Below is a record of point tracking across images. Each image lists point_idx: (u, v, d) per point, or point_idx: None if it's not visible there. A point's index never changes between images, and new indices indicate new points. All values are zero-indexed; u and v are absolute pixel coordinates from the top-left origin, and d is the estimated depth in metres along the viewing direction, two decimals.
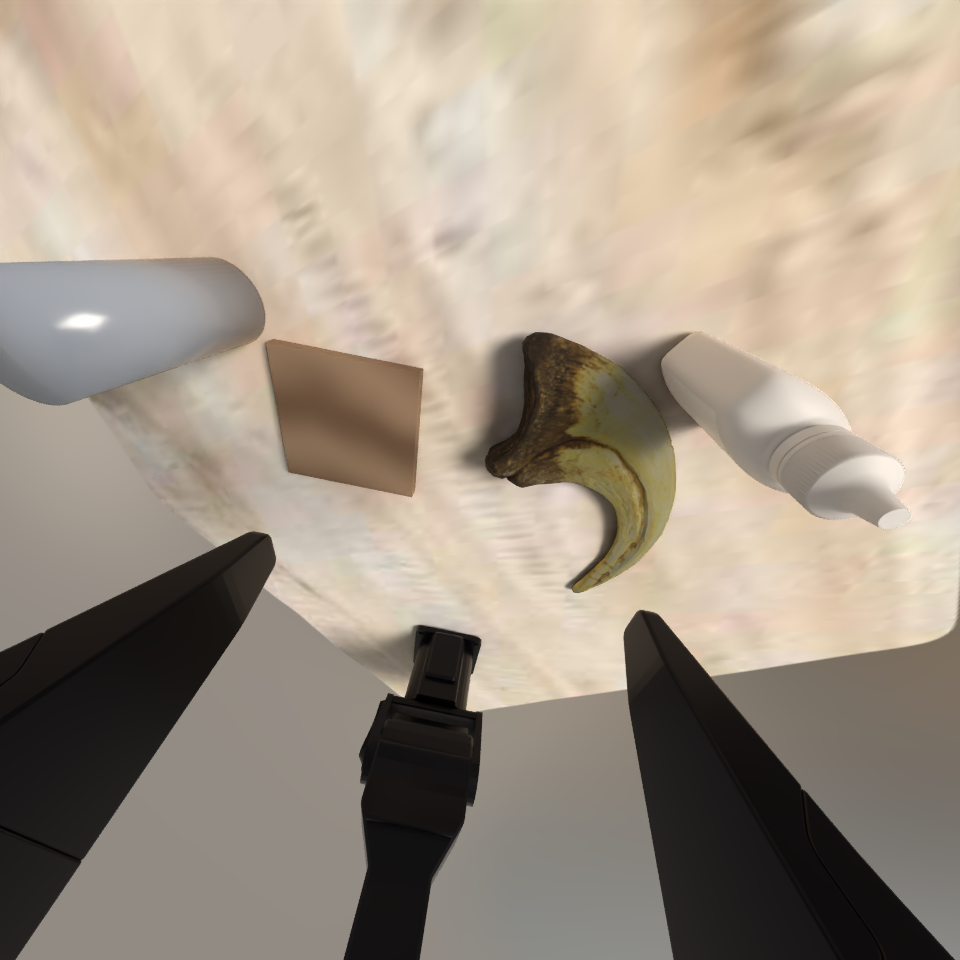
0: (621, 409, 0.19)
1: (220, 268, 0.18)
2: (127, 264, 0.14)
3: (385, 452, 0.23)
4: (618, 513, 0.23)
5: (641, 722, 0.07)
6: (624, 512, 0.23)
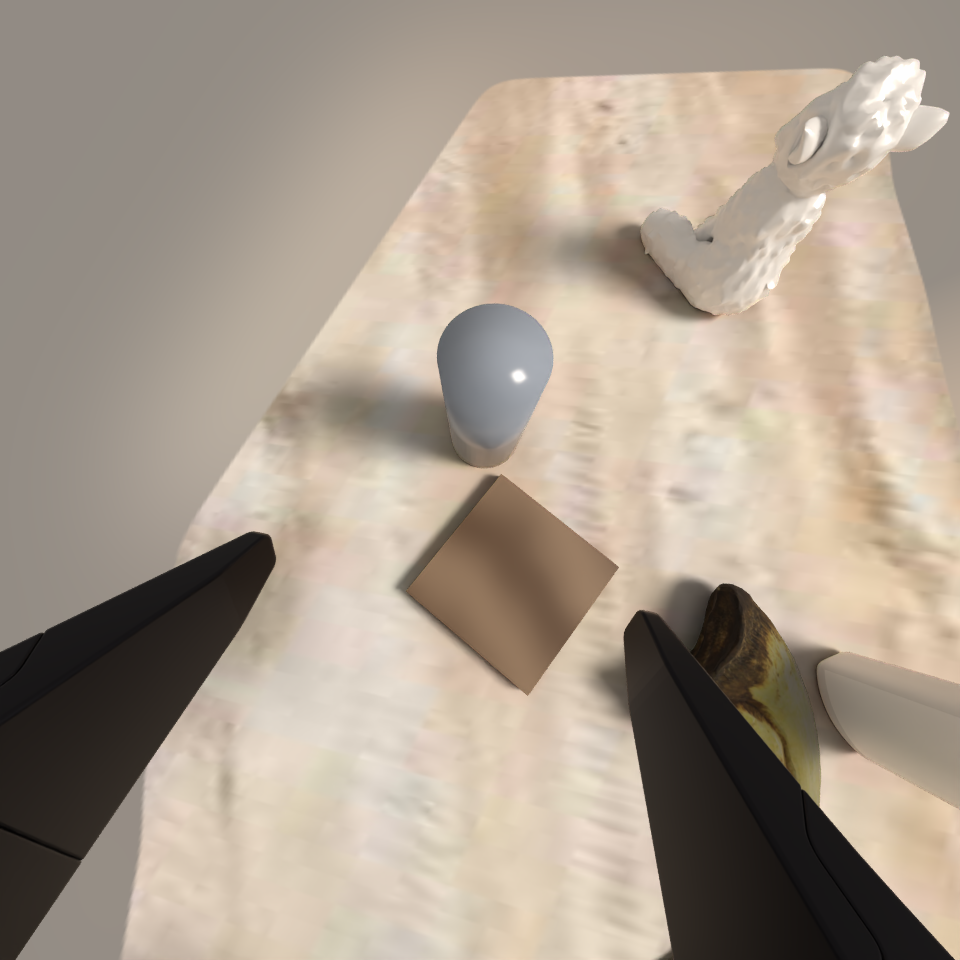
0: (794, 691, 0.19)
1: None
2: None
3: (535, 624, 0.20)
4: None
5: (641, 722, 0.07)
6: None
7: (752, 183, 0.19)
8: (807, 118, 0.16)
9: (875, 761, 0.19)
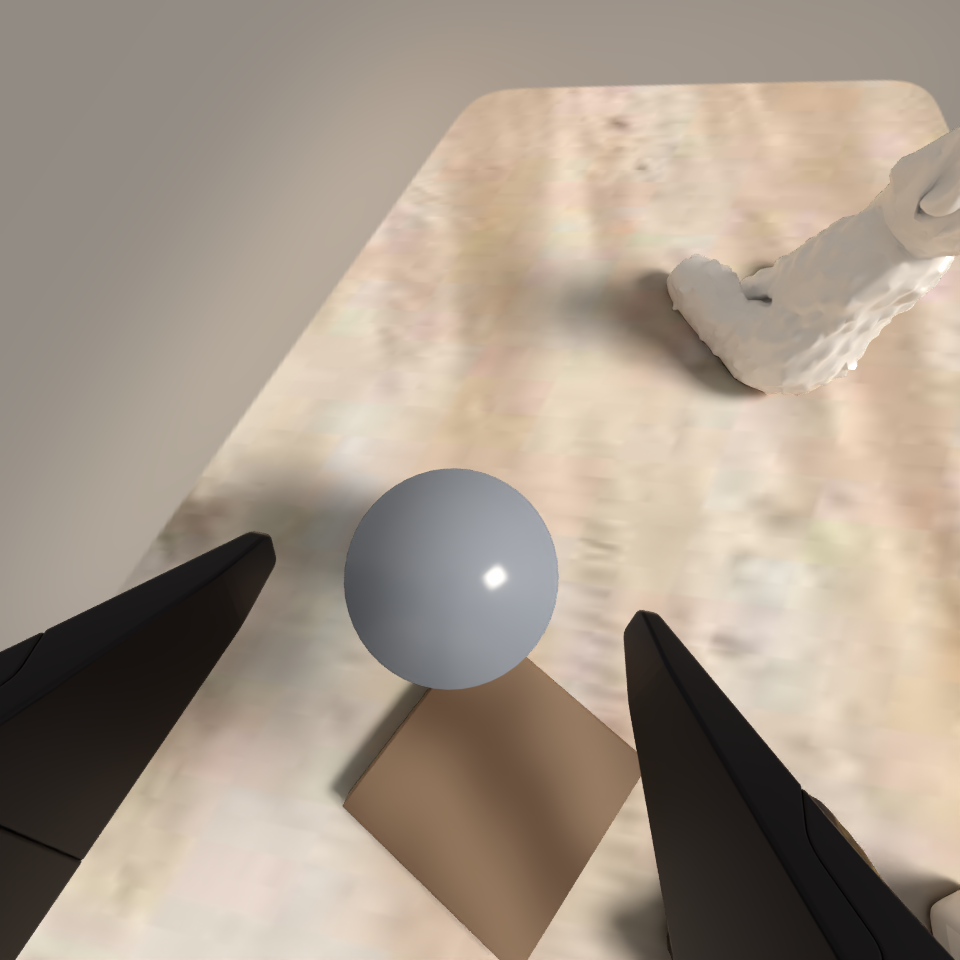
0: None
1: None
2: None
3: (528, 858, 0.14)
4: None
5: (641, 722, 0.07)
6: None
7: (840, 234, 0.14)
8: None
9: None
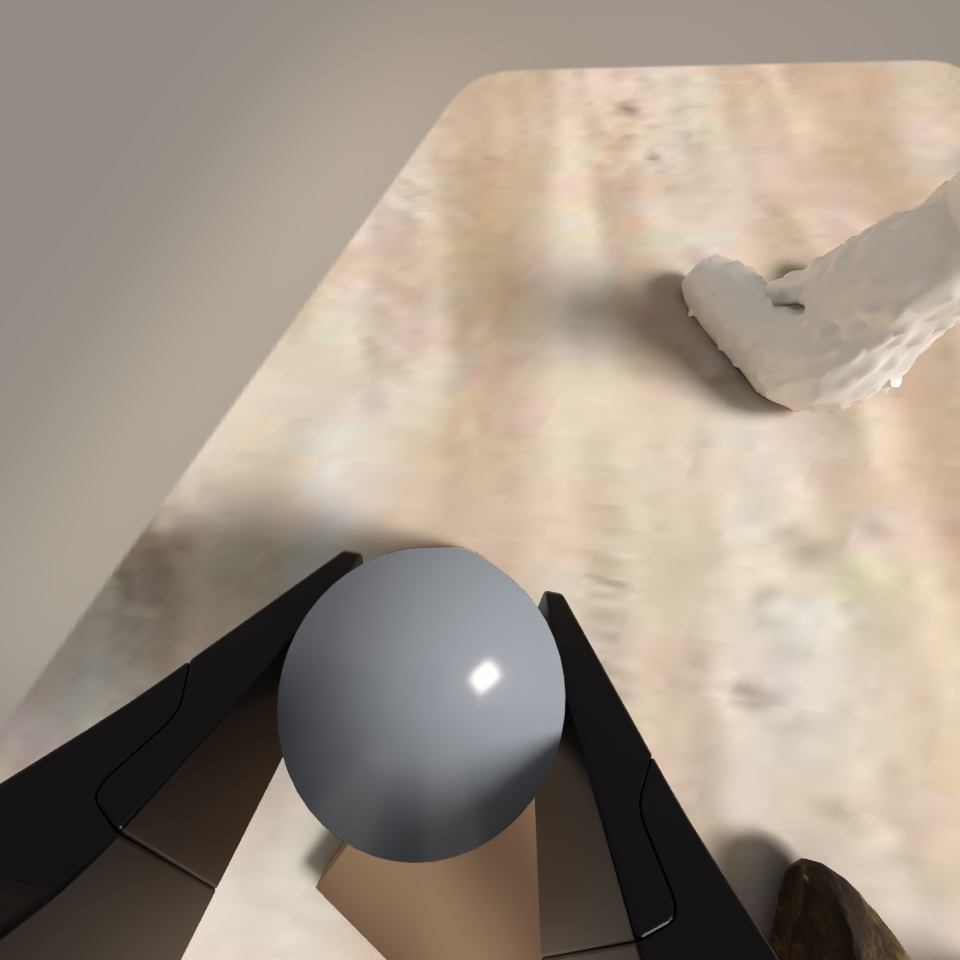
0: None
1: None
2: None
3: (527, 947, 0.12)
4: None
5: None
6: None
7: (892, 232, 0.12)
8: None
9: None
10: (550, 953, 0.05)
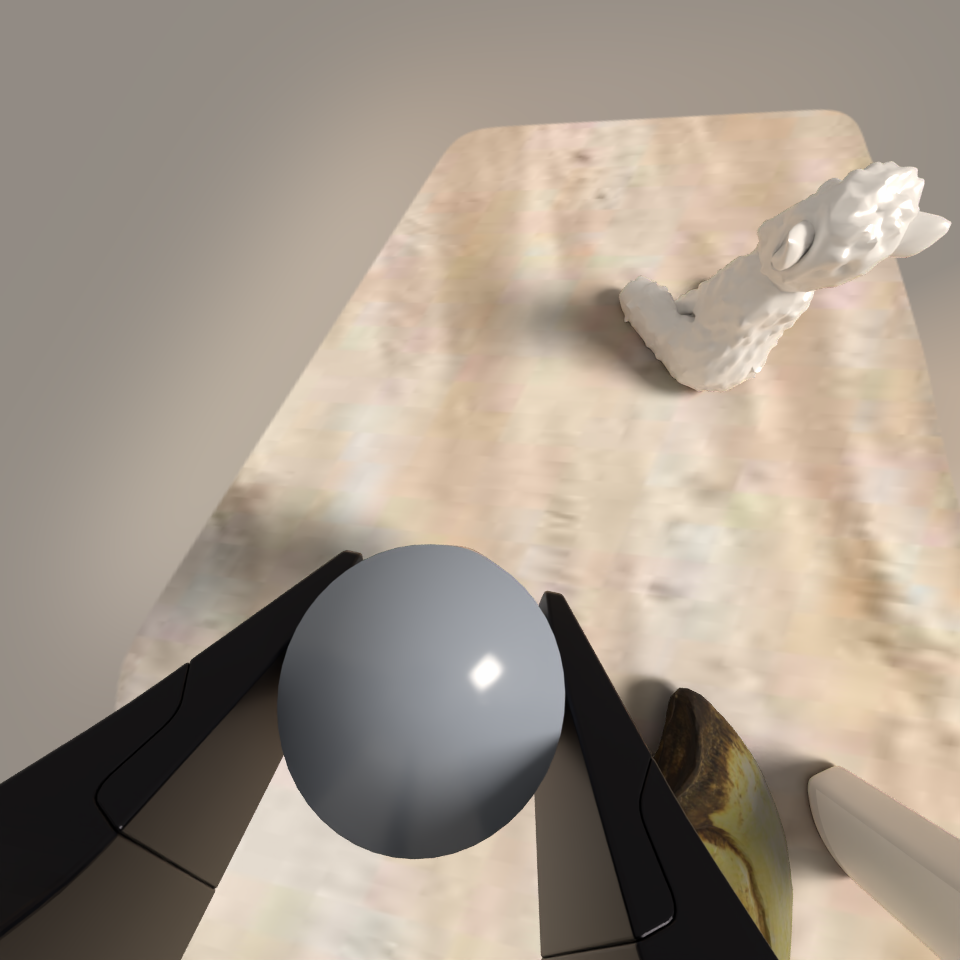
0: (759, 809, 0.18)
1: None
2: None
3: None
4: None
5: None
6: None
7: (734, 270, 0.18)
8: (791, 221, 0.14)
9: None
10: (550, 953, 0.05)
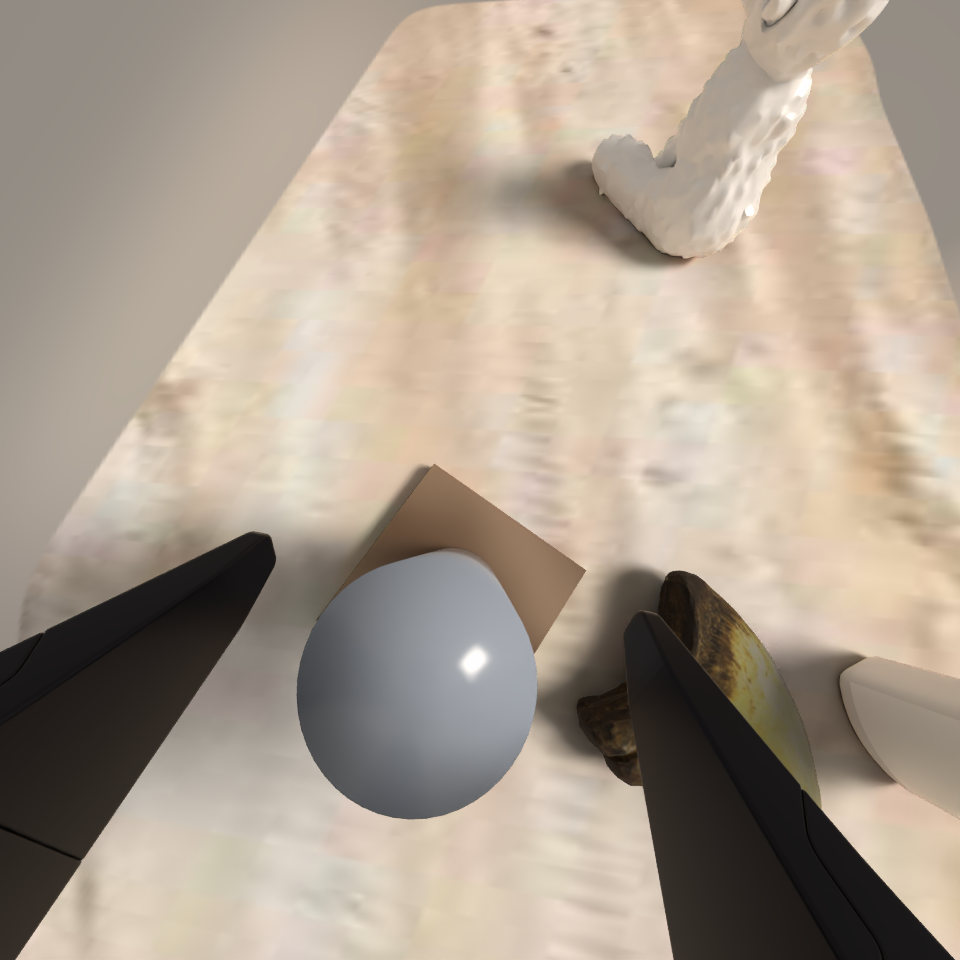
0: (773, 697, 0.15)
1: None
2: (496, 577, 0.11)
3: None
4: None
5: (641, 722, 0.07)
6: None
7: (718, 75, 0.15)
8: None
9: (924, 797, 0.15)
10: None
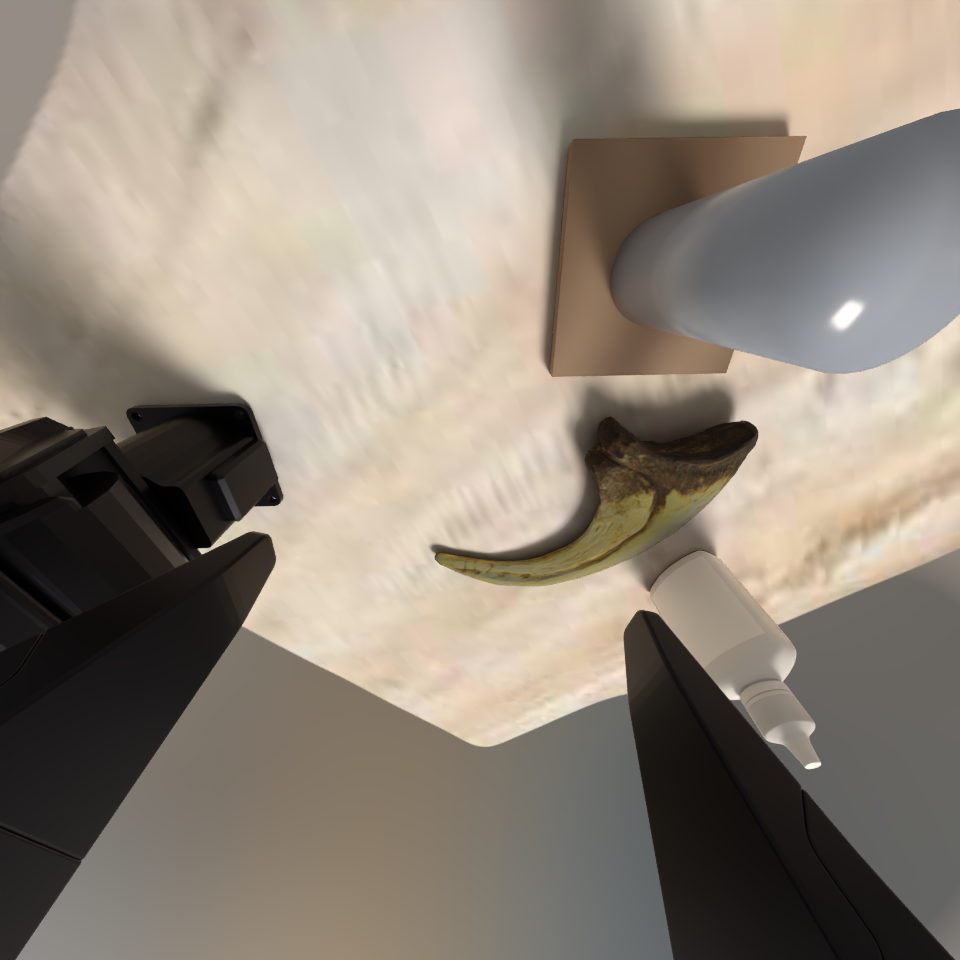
0: (685, 517, 0.22)
1: None
2: None
3: (622, 334, 0.17)
4: (565, 552, 0.24)
5: (641, 722, 0.07)
6: (569, 556, 0.24)
7: None
8: None
9: (657, 600, 0.26)
10: None
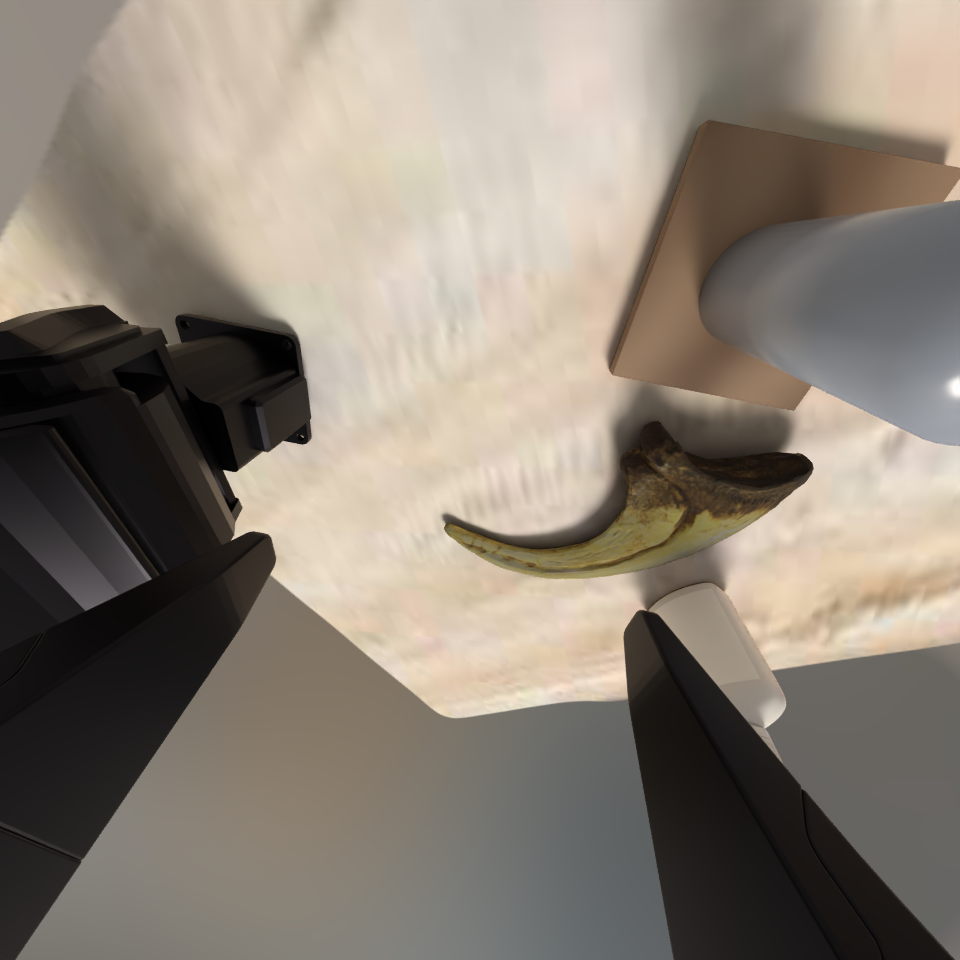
0: (709, 540, 0.21)
1: None
2: None
3: (698, 347, 0.16)
4: (576, 550, 0.23)
5: (641, 722, 0.07)
6: (579, 555, 0.23)
7: None
8: None
9: None
10: None
